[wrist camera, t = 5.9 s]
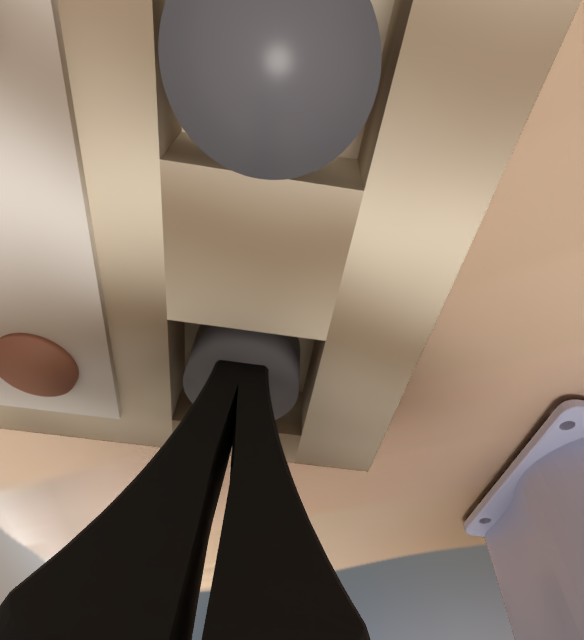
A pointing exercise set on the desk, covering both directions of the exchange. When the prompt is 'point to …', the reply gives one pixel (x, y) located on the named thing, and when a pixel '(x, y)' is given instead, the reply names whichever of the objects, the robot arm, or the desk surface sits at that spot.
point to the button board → (241, 220)
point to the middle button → (270, 79)
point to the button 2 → (246, 361)
